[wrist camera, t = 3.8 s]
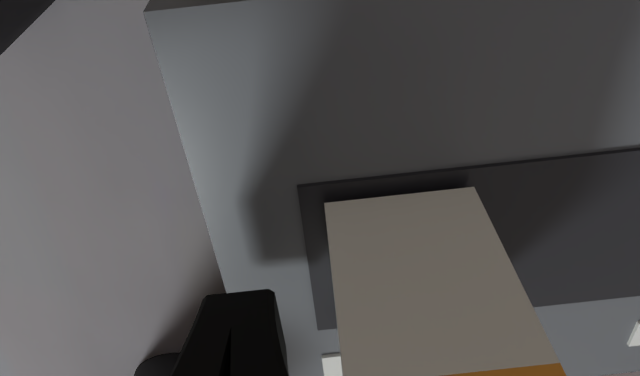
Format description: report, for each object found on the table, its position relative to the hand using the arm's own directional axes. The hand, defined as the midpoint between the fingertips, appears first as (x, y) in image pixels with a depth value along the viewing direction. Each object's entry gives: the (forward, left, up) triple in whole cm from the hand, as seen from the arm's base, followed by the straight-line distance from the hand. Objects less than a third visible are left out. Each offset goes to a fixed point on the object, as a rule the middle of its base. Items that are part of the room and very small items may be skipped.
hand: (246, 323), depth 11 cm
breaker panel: (-6, 0, -3) cm, 7 cm away
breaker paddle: (-3, 0, -1) cm, 4 cm away
